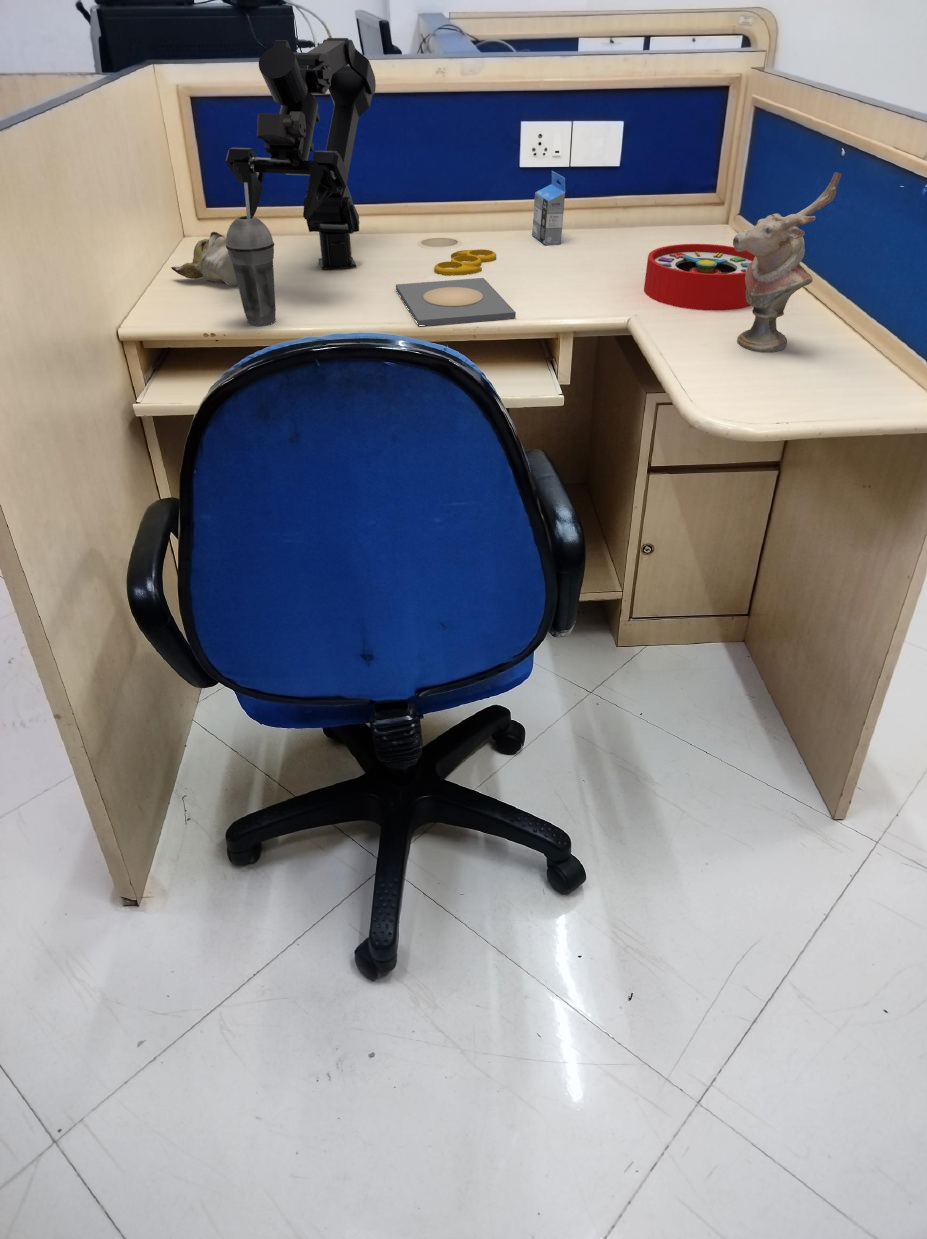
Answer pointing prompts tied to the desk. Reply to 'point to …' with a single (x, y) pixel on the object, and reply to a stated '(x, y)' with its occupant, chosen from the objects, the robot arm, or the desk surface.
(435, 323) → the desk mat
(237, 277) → the beverage cup
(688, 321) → the desk surface
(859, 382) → the desk surface
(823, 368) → the desk surface
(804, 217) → the decorative bust
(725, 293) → the toy clock
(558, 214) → the label tape box
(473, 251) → the yellow joined rings
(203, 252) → the ceramic sculpture
